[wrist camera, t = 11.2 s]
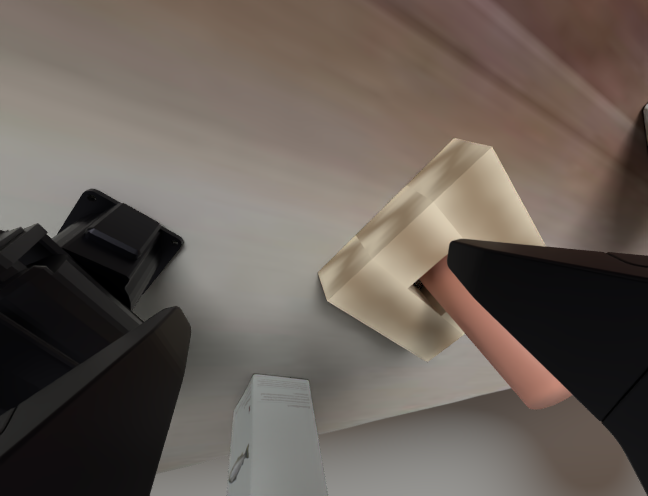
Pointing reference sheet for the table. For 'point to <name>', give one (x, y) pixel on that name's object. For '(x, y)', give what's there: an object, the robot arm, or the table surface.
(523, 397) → the peg
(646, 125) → the white food box
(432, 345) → the socket board
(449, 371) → the table surface
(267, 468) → the supplement box
